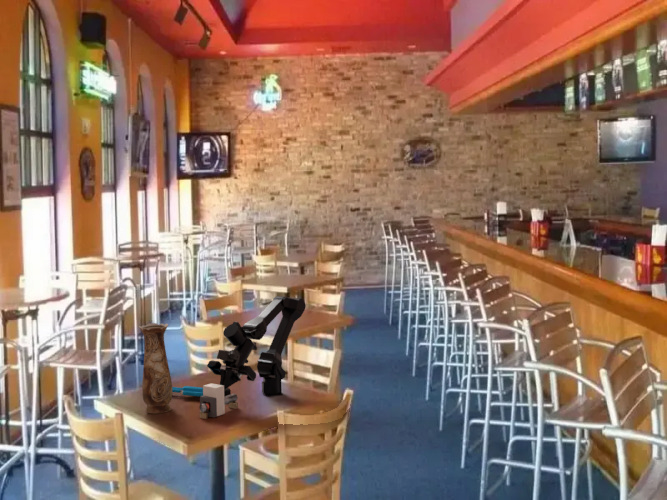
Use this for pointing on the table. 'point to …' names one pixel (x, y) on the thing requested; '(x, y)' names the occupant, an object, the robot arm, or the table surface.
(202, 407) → the metal cylinder
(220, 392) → the white block
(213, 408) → the gray square plate
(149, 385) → the vase
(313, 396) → the table surface
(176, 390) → the toy
